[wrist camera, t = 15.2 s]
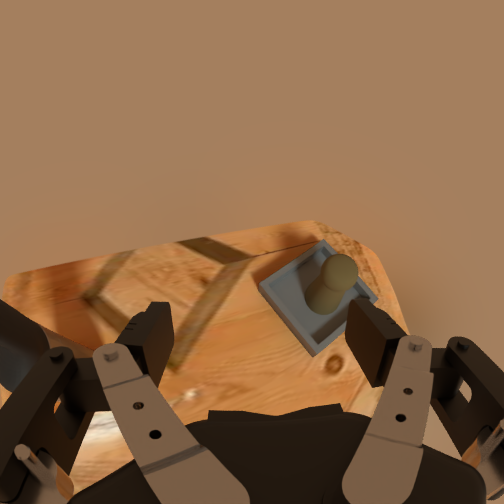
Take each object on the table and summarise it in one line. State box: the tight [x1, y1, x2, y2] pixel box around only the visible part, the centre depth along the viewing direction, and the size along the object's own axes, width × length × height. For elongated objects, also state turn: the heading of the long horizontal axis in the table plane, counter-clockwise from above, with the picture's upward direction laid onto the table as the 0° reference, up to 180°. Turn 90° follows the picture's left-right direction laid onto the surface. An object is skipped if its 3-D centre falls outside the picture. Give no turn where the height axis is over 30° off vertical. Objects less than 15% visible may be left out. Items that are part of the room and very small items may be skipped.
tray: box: [258, 239, 378, 357], centre depth 43 cm, size 14×14×3 cm
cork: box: [305, 254, 358, 315], centre depth 39 cm, size 6×6×11 cm
